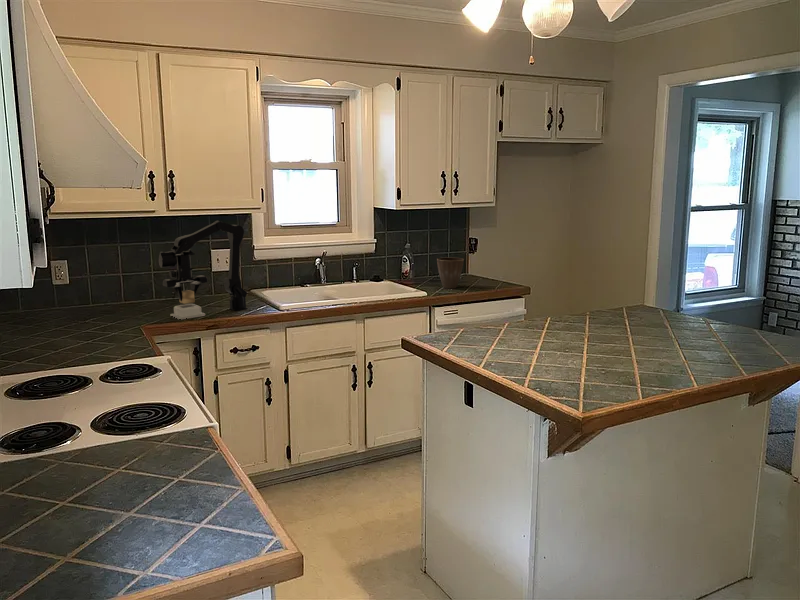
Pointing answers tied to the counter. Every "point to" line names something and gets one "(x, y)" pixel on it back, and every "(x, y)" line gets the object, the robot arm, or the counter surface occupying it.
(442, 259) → the plant pot
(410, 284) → the counter surface
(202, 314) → the base
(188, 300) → the block
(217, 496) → the counter surface
